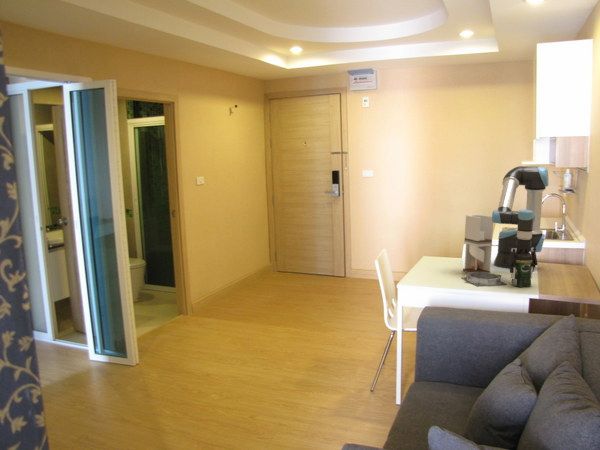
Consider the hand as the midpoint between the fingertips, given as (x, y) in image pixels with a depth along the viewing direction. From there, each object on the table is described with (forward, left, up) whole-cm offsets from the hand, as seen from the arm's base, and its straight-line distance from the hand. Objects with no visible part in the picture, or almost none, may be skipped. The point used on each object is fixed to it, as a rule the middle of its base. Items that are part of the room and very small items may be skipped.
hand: (521, 278), depth 277 cm
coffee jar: (0, 0, -4) cm, 4 cm away
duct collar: (+16, -11, -4) cm, 20 cm away
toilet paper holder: (+10, -30, -4) cm, 32 cm away
